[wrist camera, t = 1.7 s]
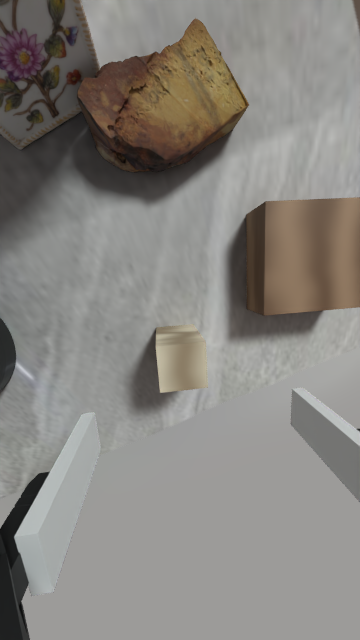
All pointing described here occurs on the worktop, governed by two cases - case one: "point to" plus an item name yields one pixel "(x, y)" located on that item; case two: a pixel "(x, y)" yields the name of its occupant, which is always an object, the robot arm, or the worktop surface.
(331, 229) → the plinth
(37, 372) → the worktop surface
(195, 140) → the stone
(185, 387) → the oak block
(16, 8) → the decorative jar
